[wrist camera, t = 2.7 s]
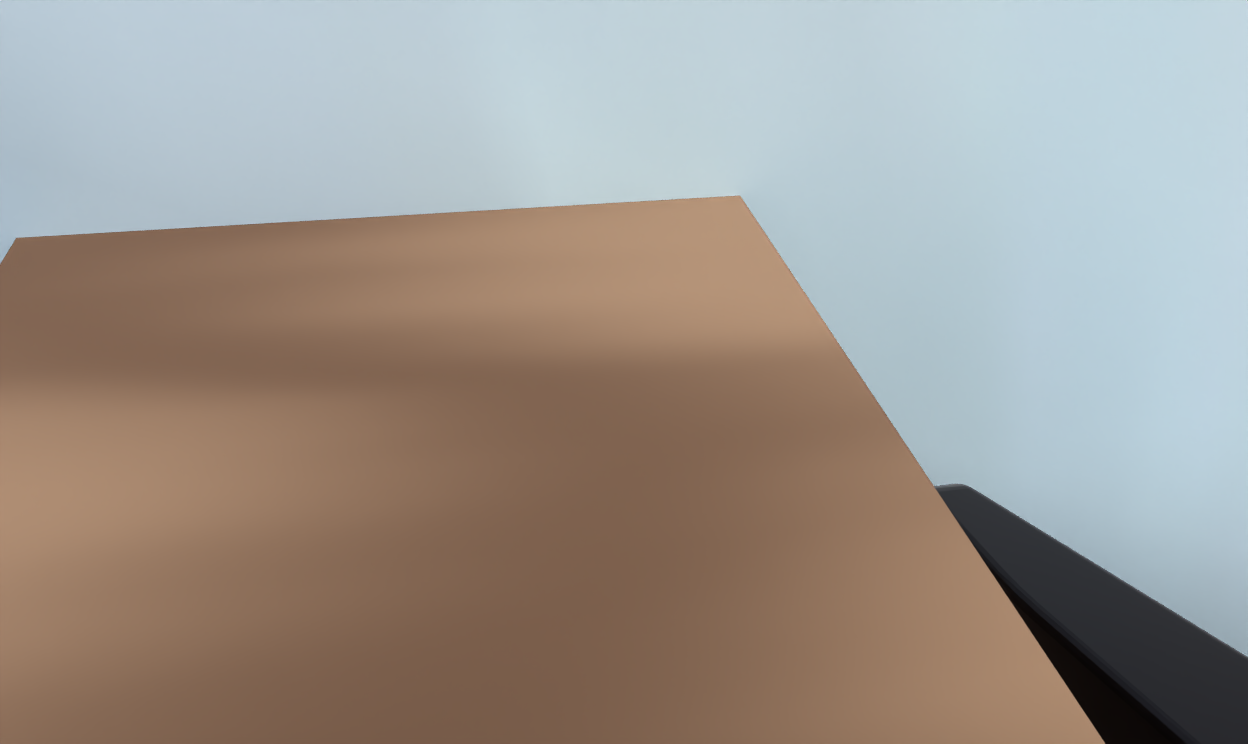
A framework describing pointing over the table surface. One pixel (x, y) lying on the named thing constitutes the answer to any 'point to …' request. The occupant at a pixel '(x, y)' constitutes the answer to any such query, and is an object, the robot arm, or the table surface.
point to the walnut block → (474, 497)
